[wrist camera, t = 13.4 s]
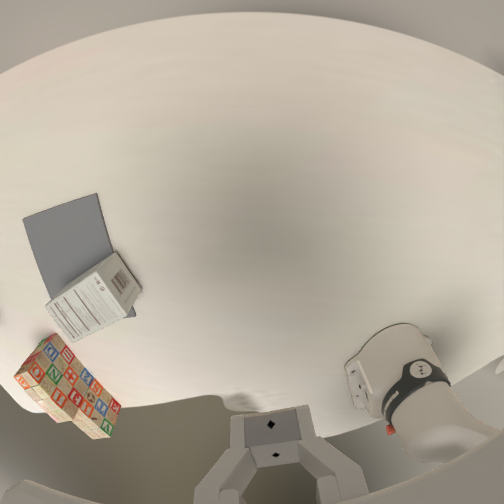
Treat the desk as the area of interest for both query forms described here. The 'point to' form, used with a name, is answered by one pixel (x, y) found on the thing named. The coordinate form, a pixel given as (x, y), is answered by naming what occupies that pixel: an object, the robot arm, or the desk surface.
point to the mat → (69, 241)
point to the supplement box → (94, 299)
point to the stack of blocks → (67, 389)
